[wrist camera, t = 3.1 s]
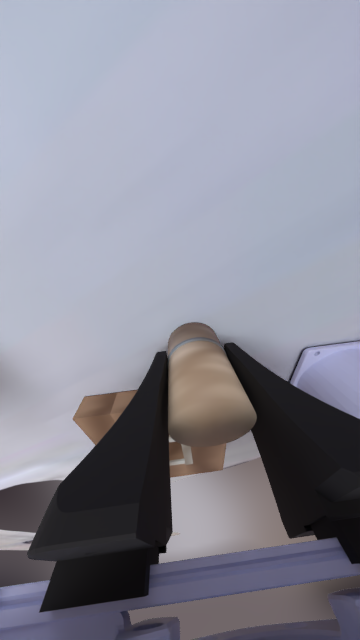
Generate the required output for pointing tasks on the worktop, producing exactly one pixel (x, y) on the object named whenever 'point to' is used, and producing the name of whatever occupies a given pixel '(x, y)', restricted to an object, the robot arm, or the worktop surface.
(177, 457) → the socket board
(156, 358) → the robot arm
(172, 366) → the peg
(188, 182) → the worktop surface
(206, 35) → the worktop surface
